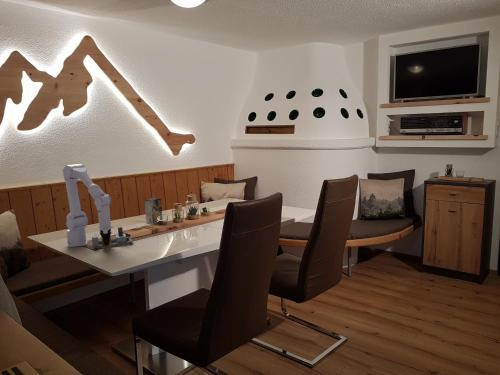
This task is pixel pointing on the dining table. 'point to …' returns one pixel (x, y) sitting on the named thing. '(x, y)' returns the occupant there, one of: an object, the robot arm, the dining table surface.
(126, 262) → the dining table surface
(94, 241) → the press frame
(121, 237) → the ram
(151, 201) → the coffee box
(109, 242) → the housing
